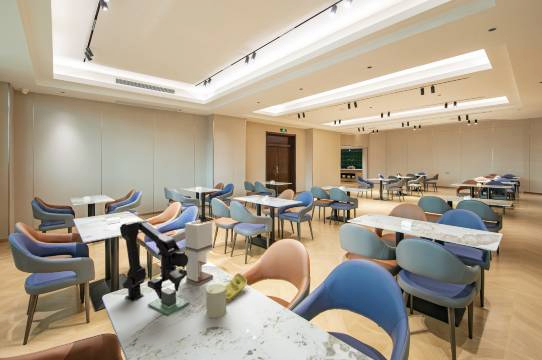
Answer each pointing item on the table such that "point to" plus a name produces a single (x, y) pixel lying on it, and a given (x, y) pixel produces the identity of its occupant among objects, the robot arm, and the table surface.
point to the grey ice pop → (168, 296)
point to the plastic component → (235, 286)
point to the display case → (197, 250)
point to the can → (216, 300)
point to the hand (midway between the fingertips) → (168, 294)
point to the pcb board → (168, 309)
